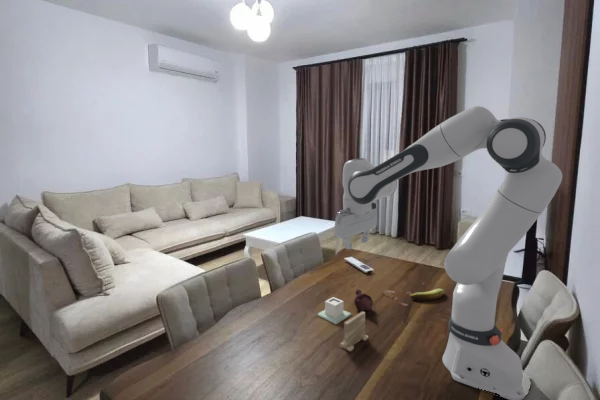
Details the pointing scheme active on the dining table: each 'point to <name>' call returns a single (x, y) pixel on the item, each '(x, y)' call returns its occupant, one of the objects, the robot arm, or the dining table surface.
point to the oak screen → (354, 331)
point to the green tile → (332, 319)
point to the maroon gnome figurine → (363, 301)
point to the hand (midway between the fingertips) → (356, 245)
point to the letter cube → (334, 307)
